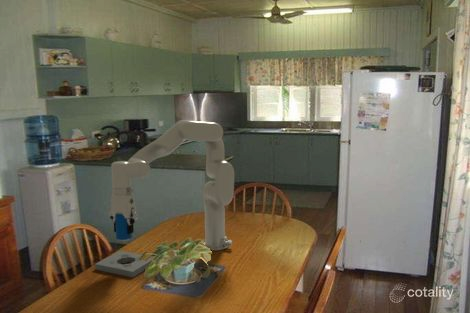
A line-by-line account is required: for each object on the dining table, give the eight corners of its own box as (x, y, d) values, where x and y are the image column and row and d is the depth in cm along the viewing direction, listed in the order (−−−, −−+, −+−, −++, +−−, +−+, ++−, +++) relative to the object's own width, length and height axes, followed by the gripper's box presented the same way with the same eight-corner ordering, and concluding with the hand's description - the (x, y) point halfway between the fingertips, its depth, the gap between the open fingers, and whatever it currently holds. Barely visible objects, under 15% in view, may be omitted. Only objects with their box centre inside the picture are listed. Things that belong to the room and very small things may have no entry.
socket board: (156, 263, 184) (156, 257, 183) (132, 277, 170) (132, 271, 169) (120, 256, 192) (120, 250, 192) (95, 269, 178) (94, 263, 178)
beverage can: (127, 242, 175) (126, 214, 173) (113, 241, 176) (112, 213, 175) (134, 237, 181) (133, 210, 180) (120, 236, 183) (119, 209, 181)
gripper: (144, 190, 176) (145, 232, 178) (112, 187, 183) (114, 227, 186) (132, 194, 169) (134, 237, 172) (99, 190, 176) (101, 232, 179)
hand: (123, 231), depth 179 cm, fingers closed on beverage can, 6 cm apart
